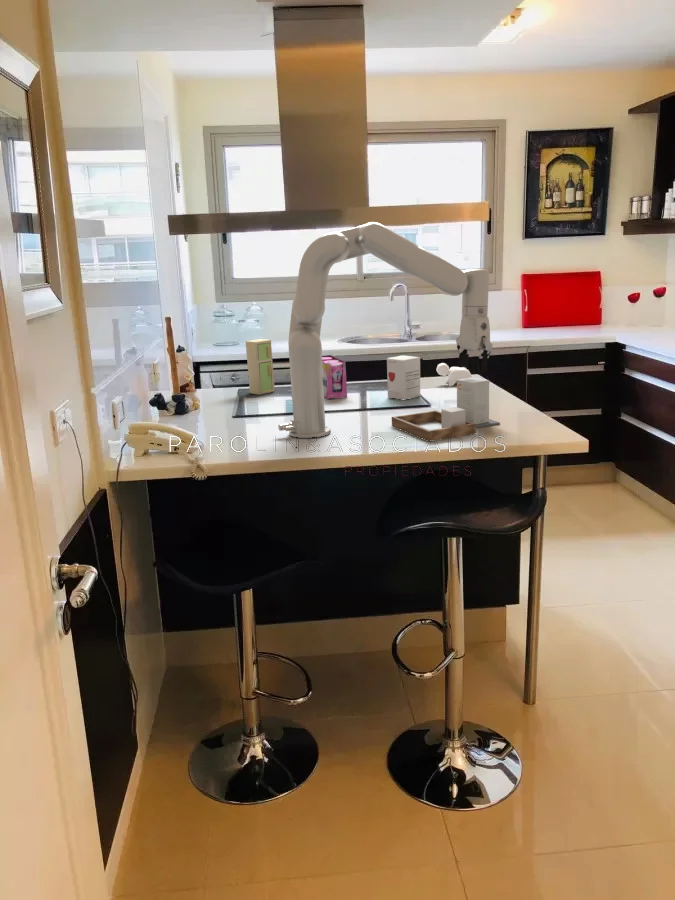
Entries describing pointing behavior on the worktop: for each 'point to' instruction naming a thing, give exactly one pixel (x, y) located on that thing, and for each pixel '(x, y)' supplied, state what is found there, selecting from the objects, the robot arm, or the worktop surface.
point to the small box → (474, 399)
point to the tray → (407, 425)
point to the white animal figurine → (453, 373)
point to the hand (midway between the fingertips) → (472, 369)
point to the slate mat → (487, 424)
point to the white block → (453, 417)
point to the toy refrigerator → (260, 366)
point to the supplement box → (403, 377)
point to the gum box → (334, 377)
